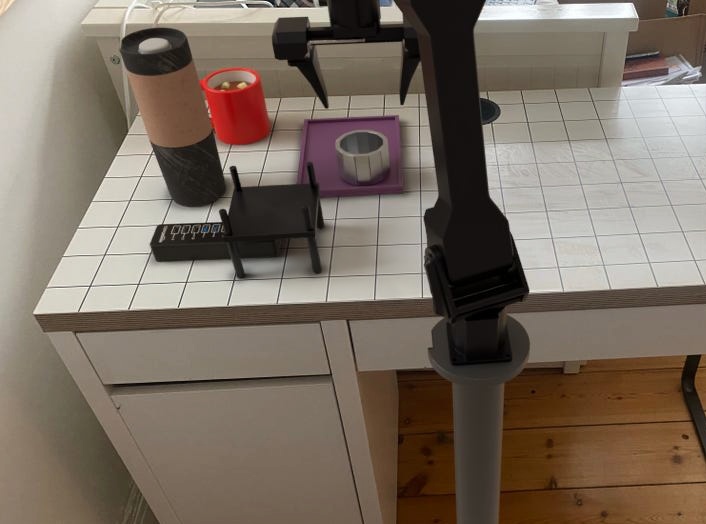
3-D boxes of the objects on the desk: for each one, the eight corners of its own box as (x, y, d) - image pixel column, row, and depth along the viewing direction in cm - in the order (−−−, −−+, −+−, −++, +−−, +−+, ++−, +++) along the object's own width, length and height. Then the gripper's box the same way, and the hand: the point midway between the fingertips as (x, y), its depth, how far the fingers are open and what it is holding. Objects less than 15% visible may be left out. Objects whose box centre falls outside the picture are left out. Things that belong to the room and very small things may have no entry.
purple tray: (403, 193, 100) (403, 186, 99) (296, 199, 98) (295, 191, 98) (399, 121, 113) (398, 114, 112) (305, 125, 112) (304, 119, 111)
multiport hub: (277, 256, 90) (274, 241, 88) (154, 261, 89) (148, 245, 87) (282, 234, 93) (278, 219, 91) (162, 239, 92) (157, 223, 90)
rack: (322, 274, 88) (310, 208, 81) (235, 279, 87) (216, 214, 80) (325, 224, 95) (314, 160, 88) (245, 228, 94) (228, 164, 87)
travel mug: (240, 186, 100) (201, 36, 86) (197, 214, 96) (148, 60, 82) (200, 170, 103) (155, 21, 89) (156, 196, 99) (102, 44, 84)
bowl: (390, 185, 100) (387, 154, 96) (339, 188, 99) (334, 157, 96) (389, 158, 104) (387, 128, 101) (340, 161, 104) (336, 130, 101)
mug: (196, 117, 114) (181, 66, 108) (275, 118, 114) (265, 67, 108) (181, 144, 108) (165, 92, 102) (265, 144, 108) (253, 92, 102)
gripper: (430, -56, 88) (435, 74, 99) (269, -51, 87) (292, 80, 98) (436, -24, 80) (441, 113, 91) (259, -18, 79) (286, 121, 90)
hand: (364, 105), depth 93 cm, fingers open, 9 cm apart
